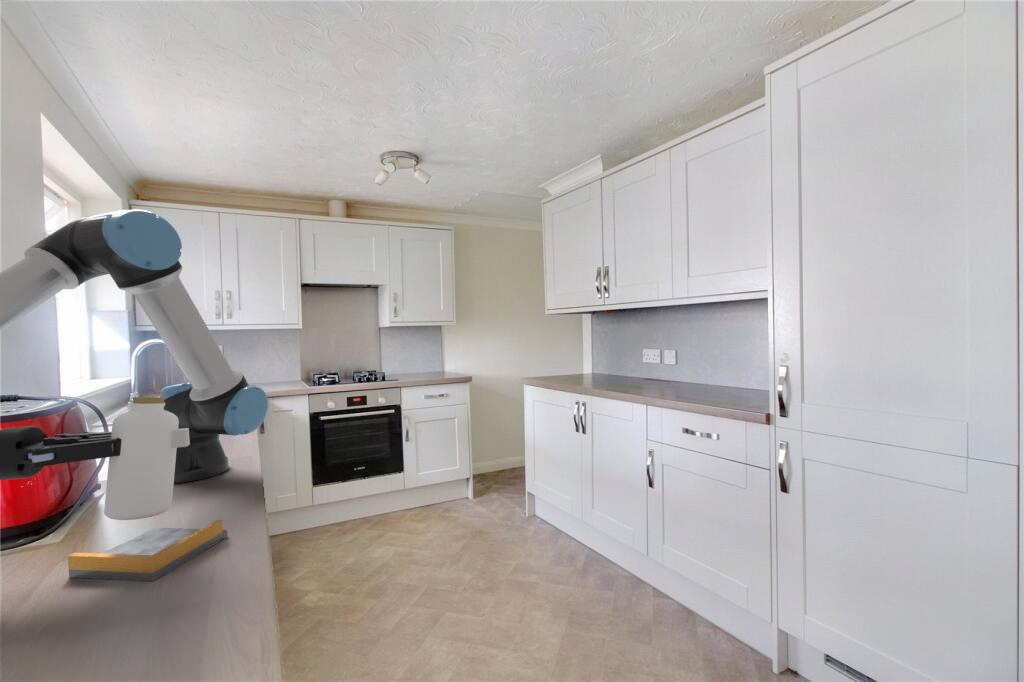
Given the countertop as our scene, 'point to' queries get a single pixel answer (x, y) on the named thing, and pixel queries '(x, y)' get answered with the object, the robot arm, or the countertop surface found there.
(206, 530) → the plate
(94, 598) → the countertop surface
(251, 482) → the countertop surface
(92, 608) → the countertop surface
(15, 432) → the robot arm
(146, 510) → the white bottle
